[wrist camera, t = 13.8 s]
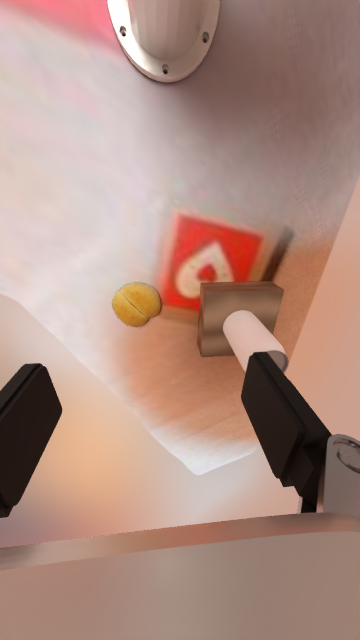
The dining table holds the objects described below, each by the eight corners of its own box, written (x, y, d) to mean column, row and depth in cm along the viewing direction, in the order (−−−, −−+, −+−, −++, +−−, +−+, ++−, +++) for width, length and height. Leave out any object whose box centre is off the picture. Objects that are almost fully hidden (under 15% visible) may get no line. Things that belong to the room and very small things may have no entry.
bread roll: (168, 303, 41) (169, 312, 38) (134, 327, 43) (132, 338, 39) (140, 271, 38) (138, 277, 34) (105, 299, 39) (100, 307, 36)
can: (232, 304, 36) (262, 342, 26) (262, 315, 38) (301, 355, 28) (216, 333, 39) (237, 378, 29) (244, 342, 41) (274, 388, 30)
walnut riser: (200, 282, 39) (205, 291, 35) (270, 281, 40) (283, 289, 36) (197, 343, 46) (201, 357, 42) (257, 340, 47) (267, 353, 43)
